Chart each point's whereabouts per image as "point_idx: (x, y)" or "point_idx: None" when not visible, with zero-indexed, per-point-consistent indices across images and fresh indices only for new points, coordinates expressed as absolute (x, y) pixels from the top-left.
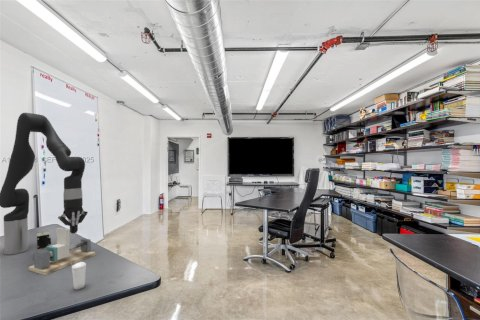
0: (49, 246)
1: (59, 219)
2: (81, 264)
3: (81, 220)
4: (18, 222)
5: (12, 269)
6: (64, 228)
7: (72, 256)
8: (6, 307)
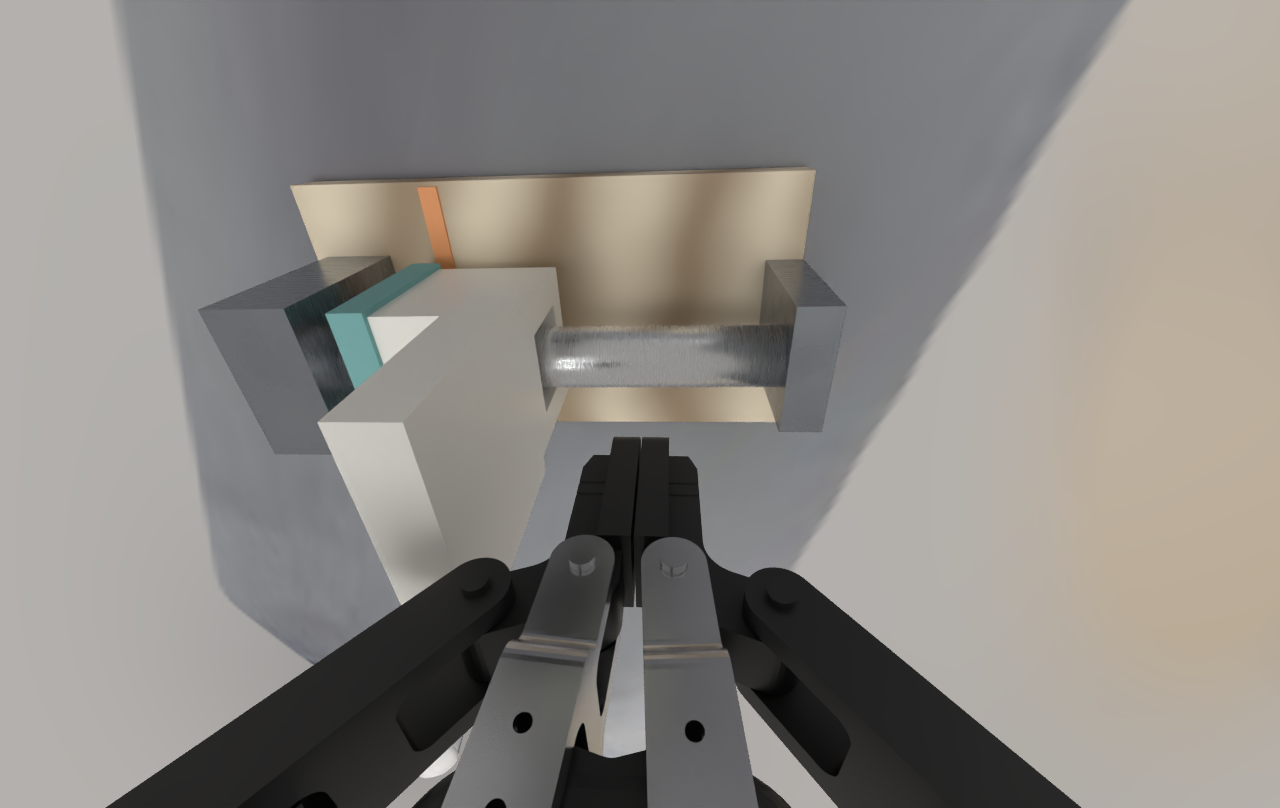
0: (358, 347)
1: (171, 769)
2: (424, 777)
3: (791, 699)
4: None
5: None
6: (436, 571)
7: (631, 325)
8: (218, 555)
